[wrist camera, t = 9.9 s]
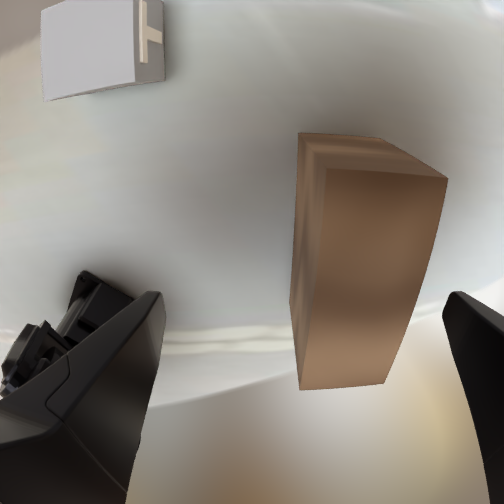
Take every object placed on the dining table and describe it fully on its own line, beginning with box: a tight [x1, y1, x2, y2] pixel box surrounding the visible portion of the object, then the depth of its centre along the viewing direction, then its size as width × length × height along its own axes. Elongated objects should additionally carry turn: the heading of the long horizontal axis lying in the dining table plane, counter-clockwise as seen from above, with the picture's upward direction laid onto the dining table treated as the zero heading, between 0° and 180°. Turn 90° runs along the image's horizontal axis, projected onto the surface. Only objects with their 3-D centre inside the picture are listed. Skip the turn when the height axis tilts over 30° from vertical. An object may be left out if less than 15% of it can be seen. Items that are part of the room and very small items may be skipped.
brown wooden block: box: [289, 133, 448, 390], centre depth 17 cm, size 12×5×8 cm, turn 0°
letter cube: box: [41, 0, 165, 102], centre depth 13 cm, size 5×5×5 cm
